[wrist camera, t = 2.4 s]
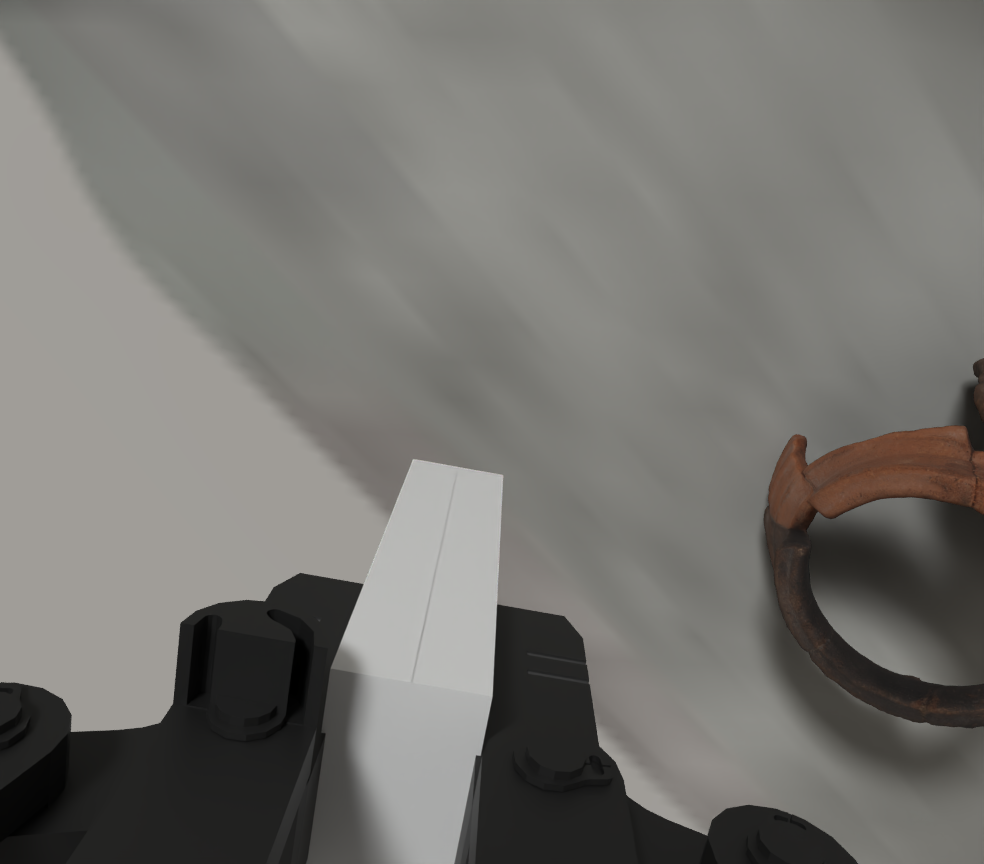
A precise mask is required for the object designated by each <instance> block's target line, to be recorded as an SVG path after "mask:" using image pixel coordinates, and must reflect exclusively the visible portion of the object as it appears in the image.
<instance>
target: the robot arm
mask: <svg viewBox="0 0 984 864" xmlns="http://www.w3.org/2000/svg"><path fill="white" fill-rule="evenodd" d="M502 489H503V475H500V474H494V473H489V472H483V471H477V470H472V469H466V468H461V467H455V466H449V465H444V464H438V463H433V462H427V461H421V460H416V459H413V461H412V463H411V466H410V468H409V471H408V474H407V476H406V479H405V481H404V484H403V486H402V489H401V491H400V494H399V496H398V499H397V501H396V504H395V506H394V509H393V512H392V514H391V517H390V519H389V522H388V524H387V527H386V529H385V532H384V535H383V537H382V540H381V542H380V545H379V547H378V550H377V552H376V555H375V557H374V560H373V562H372V565H371V567H370V570H369V572H368V575H367V578H366V580H365V583H364V584H359V583H354V582H348V581H343V580H337V579H331V578H326V577H319V576H314V575H308V574H303V573H299V574H297V575H296V576H294V577H292V578H290V579H288V580H286V581H285V582H283V583H281V584H279V585H277V586H276V587H274V588H273V590H272V591H271V593H270V594H269V596H268V598H267V599H266V601H252V600H243V601H234V602H225V603H218V604H215V605H212V606H209V607H206V608H204V609H200V610H197V611H195V612H194V613H193V614H192V615H190V616H189V617H188V618H186V619H185V620H184V621H182V622H181V624H180V635H179V646H178V657H177V669H176V679H175V691H174V700H173V705H172V706H171V708H170V709H169V711H168V712H167V714H166V715H165V717H164V718H163V720H162V721H161V723H159V724H155V725H151V726H147V727H143V728H134V729H124V730H110V731H85V732H71V716H72V715H71V713H70V711H69V710H68V708H67V706H66V704H65V703H64V701H63V699H61V698H59V697H58V696H56V695H54V694H52V693H50V692H49V691H47V690H45V689H43V688H39V687H34V686H29V685H24V684H19V683H4V682H3V683H2V682H1V683H0V864H858V863H857V862H856V860H855V859H854V858H853V857H852V856H851V855H850V854H849V853H848V852H847V851H846V850H845V849H844V848H843V847H842V846H841V845H840V844H839V843H838V842H837V841H836V840H835V839H834V838H833V837H831V836H830V835H828V834H827V833H825V832H823V831H822V830H820V829H819V828H817V827H815V826H814V825H812V824H811V823H809V822H808V821H806V820H804V819H802V818H799V817H797V816H795V815H793V814H792V815H791V814H788V813H787V812H784V811H781V810H778V809H774V808H767V807H760V806H753V805H745V806H739V807H733V808H727V809H725V810H724V811H723V812H722V813H720V814H719V815H718V816H716V817H715V818H714V819H713V820H712V822H711V826H710V829H709V833H708V836H707V835H704V834H702V833H699V832H697V831H694V830H692V829H689V828H687V827H684V826H682V825H679V824H677V823H674V822H672V821H669V820H667V819H665V818H663V817H661V816H658V815H657V814H654V813H652V812H650V811H648V810H646V809H645V808H643V807H642V806H641V805H639V804H638V803H636V802H635V801H633V800H632V799H630V798H629V797H628V796H627V795H626V791H625V785H624V780H623V778H622V775H621V773H620V771H619V769H618V767H617V765H616V762H615V761H614V760H613V759H612V758H611V757H610V756H609V755H608V754H607V753H606V752H605V751H603V749H602V748H600V747H599V743H598V736H597V730H596V723H595V716H594V710H593V703H592V696H591V690H590V684H588V682H589V676H588V670H587V665H586V657H585V650H584V643H583V638H582V637H581V636H580V634H579V633H578V632H577V631H576V630H575V628H574V627H573V626H572V625H571V624H570V622H569V621H568V620H567V619H566V618H565V616H560V615H554V614H548V613H542V612H537V611H531V610H525V609H520V608H514V607H508V606H502V605H497V593H498V572H499V551H500V530H501V509H502Z"/></svg>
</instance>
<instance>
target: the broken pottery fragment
mask: <svg viewBox="0 0 984 864" xmlns="http://www.w3.org/2000/svg"><path fill="white" fill-rule="evenodd" d="M973 370H974V375H975V376H976V377H978V382H979V384H978V385H976V387H975V390H974V403H975V406H976V407H977V409H978V411H979V414H980V417H981V420H982V421H983V423H984V358H983V359H980V360H978V361H976V362H975V363H974V364H973ZM806 447H807V439H806V438H805V437H804V436H801V435H797V434H796V435H794V436H792V438H791V439H790V440H789V442H788V443H787V445H786V446H785V448H784V450H783V452H782V454H781V456H780V458H779V460H778V462H777V465H776V468H775V471H774V473H773V476H772V480H771V482H770V486H769V496H768V501H769V506H768V507H767V508H766V509H765V513H764V526H765V532H766V539H767V545H768V549H769V553H770V558H771V562H772V566H773V569H774V581H775V586H776V590H777V597H778V602H779V607H780V610H781V612H782V615H783V618H784V620H785V622H786V625H787V627H788V628H789V630H790V631H791V633H792V635H793V636H794V637H795V639H796V640H797V642H798V643H799V645H800V646H801V647H802V648H803V649H804V650H805V651H807V652H808V653H809V655H810V657H811V660H812V661H813V662H814V663H815V664H816V665H817V666H818V667H819V668H820V669H821V670H822V672H823V673H824V674H825V676H826V677H829V678H830V679H832V680H833V681H835V682H836V683H838V684H839V685H840V686H841V687H842V688H844V689H845V690H846V691H848V692H849V693H850V694H851V695H853V696H854V697H856V698H858V699H860V700H862V701H863V702H865V703H867V704H869V705H872V706H873V707H876V708H877V709H879V710H881V711H884V712H886V713H888V714H891V715H894V716H896V717H902V718H904V719H907V720H910V721H912V722H917V723H924V722H927V723H929V724H931V725H937V726H949V727H965V728H975V727H980V726H984V684H979V685H971V686H944V685H939V684H933V683H927V682H923V681H921V680H920V678H917V677H914V676H908V675H900V674H897V673H894V672H892V671H889V670H887V669H885V668H882V667H881V666H879V665H877V664H875V663H873V662H872V661H871V660H869V659H868V658H866V657H865V656H863V655H861V654H860V653H858V652H857V651H856V650H855V649H854V648H852V647H851V646H850V645H849V644H848V643H846V642H845V641H844V640H843V638H842V637H841V636H840V635H839V634H838V633H837V632H836V631H835V630H834V629H833V628H832V626H831V625H830V624H829V623H828V621H827V619H826V618H825V616H824V615H823V614H822V612H821V610H820V609H819V607H818V605H817V602H816V600H815V598H814V596H813V593H812V589H811V585H810V574H809V558H810V553H811V540H810V538H809V535H808V534H807V528H808V527H809V525H810V524H811V522H812V521H813V519H814V517H815V515H816V513H817V512H819V513H821V514H822V515H823V516H824V517H826V518H829V519H833V518H836V517H838V516H839V515H841V514H843V513H845V512H847V511H849V510H851V509H854V508H856V507H858V506H861V505H863V504H866V503H869V502H872V501H875V500H879V499H886V498H906V497H916V498H924V499H932V500H937V501H941V502H947V503H952V504H956V505H960V506H965V507H972V508H974V509H975V510H976V511H977V512H979V513H981V514H982V515H984V451H975V450H974V449H973V448H972V446H971V442H970V439H969V434H968V430H967V428H966V427H965V426H957V425H954V426H945V427H934V428H926V429H919V430H915V431H901V432H892V433H889V434H885V435H883V436H879V437H877V438H873V439H869V440H866V441H863V442H859V443H853V444H851V445H847V446H843V447H841V448H838V449H836V450H834V451H831V452H829V453H827V454H826V455H824V456H822V457H820V458H819V459H817V460H815V461H814V462H813V463H811V464H809V465H807V463H806V461H805V453H806Z"/></svg>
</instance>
